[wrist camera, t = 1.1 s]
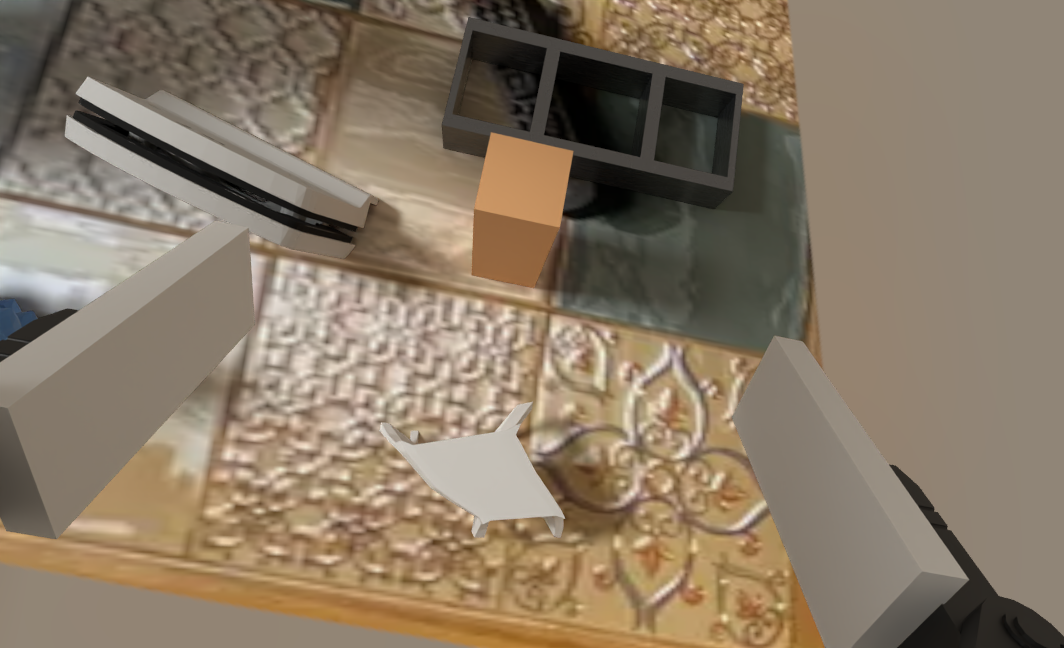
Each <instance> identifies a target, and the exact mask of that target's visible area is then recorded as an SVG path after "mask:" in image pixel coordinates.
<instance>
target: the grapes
mask: <svg viewBox="0 0 1064 648" xmlns="http://www.w3.org/2000/svg"><path fill="white" fill-rule="evenodd" d="M36 319H38V318H37V317H36V315H35V313H34V312H33V311H27V312H22V311H21V309H20V307H19V305H18V304H17V302H16V301H15V299H5V300H0V341H1V340H7V338H8V336H9V335H11V334H12V333H14V332H15V331H17V330H19V329H20V328H22V327H24V326H25V325H27V324H28V323H30V322H32V321H33V320H36Z"/></svg>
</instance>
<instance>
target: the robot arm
mask: <svg viewBox="0 0 1064 648" xmlns="http://www.w3.org/2000/svg"><path fill="white" fill-rule="evenodd" d="M254 325H255V320H254V304H253V288H252V273H251V257H250V242H249V227H244V226H240V225H235V224H230V223H225V222H220V221H214V222H213V223H211V224H210V225H208V226H207V227H205V228H204V229H202V230H201V231H199V232H198V233H196V234H195V235H193V236H191V237H190V238H188V239H187V240H185V241H184V242H182V243H181V244H179V245H178V246H176V247H175V248H173V249H172V250H170V251H169V252H167V253H166V254H164V255H163V256H161V257H160V258H158V259H157V260H155V261H153V262H152V263H150V264H149V265H147V266H146V267H144V268H143V269H141V270H140V271H138V272H137V273H135V274H134V275H132V276H131V277H129V278H128V279H126V280H125V281H123V282H122V283H120V284H119V285H117V286H116V287H114V288H112V289H111V290H109V291H108V292H106V293H105V294H103V295H102V296H100V297H99V298H97V299H96V300H94V301H93V302H91V303H90V304H88V305H87V306H85V307H84V308H82V309H81V310H79V311H78V310H73V309H65V310H62V311H59V312H56V313H53V314H50V315H47V316H44V317H41V318H39V319H36V320H33V321H32V322H30V323H28V324H27V325H25V326H24V327H22V328H20V329H19V330H17V331H15V332H14V333H12V334H11V335H9V336H8V338H7V340H1V341H0V518H1V520H2V522H3V524H4V527H5V529H6V531H10V532H16V533H22V534H28V535H34V536H40V537H46V538H52V539H57V538H58V537H59V536H60V535H61V534H62V533H63V532H64V531H65V530H66V529H67V528H68V526H69V525H70V524H71V523H72V522H73V521H74V520H75V519H76V518H77V517H78V516H79V515H80V513H81V512H82V511H83V510H84V509H85V508H86V507H87V506H88V505H89V504H90V503H91V502H92V500H93V499H94V498H95V497H96V496H97V495H98V494H99V493H100V492H101V491H102V490H103V489H104V487H105V486H106V485H107V484H108V483H109V482H110V481H111V480H112V479H113V478H114V477H115V476H116V474H117V473H118V472H119V471H120V470H121V469H122V468H123V467H124V466H125V465H126V464H127V463H128V461H129V460H130V459H131V458H132V457H133V456H134V455H135V454H136V453H137V452H138V451H139V449H140V448H141V447H142V446H143V445H144V444H145V443H146V442H147V441H148V440H149V439H150V438H151V436H152V435H153V434H154V433H155V432H156V431H157V430H158V429H159V428H160V427H161V426H162V425H163V423H164V422H165V421H166V420H167V419H168V418H169V417H170V416H171V415H172V414H173V413H174V412H175V410H176V409H177V408H178V407H179V406H180V405H181V404H182V403H183V402H184V401H185V400H186V399H187V397H188V396H189V395H190V394H191V393H192V392H193V391H194V390H195V389H196V388H197V387H198V386H199V384H200V383H201V382H202V381H203V380H204V379H205V378H206V377H207V376H208V375H209V374H210V373H211V371H212V370H213V369H214V368H215V367H216V366H217V365H218V364H219V363H220V362H221V361H222V360H223V358H224V357H225V356H226V355H227V354H228V353H229V352H230V351H231V350H232V349H233V348H234V347H235V345H236V344H237V343H238V342H239V341H240V340H241V339H242V338H243V337H244V336H245V335H246V334H247V332H248V331H249V330H250V329H251V328H252V327H253V326H254ZM732 419H733V421H734V424H735V426H736V429H737V431H738V434H739V436H740V439H741V441H742V444H743V446H744V448H745V451H746V453H747V456H748V458H749V461H750V463H751V466H752V468H753V471H754V473H755V476H756V478H757V480H758V483H759V485H760V488H761V490H762V493H763V495H764V498H765V500H766V503H767V505H768V508H769V510H770V512H771V515H772V517H773V520H774V522H775V525H776V527H777V530H778V532H779V535H780V537H781V540H782V542H783V545H784V547H785V549H786V552H787V554H788V557H789V559H790V562H791V564H792V567H793V569H794V572H795V574H796V577H797V579H798V581H799V584H800V586H801V589H802V591H803V594H804V596H805V599H806V601H807V604H808V606H809V609H810V611H811V613H812V616H813V618H814V621H815V623H816V626H817V628H818V631H819V633H820V636H821V638H822V641H823V643H824V646H825V648H1064V636H1063V635H1062V634H1061V633H1060V632H1058V630H1057V629H1056V628H1055V627H1054V626H1053V625H1052V624H1051V623H1049V622H1048V621H1046V620H1045V619H1044V618H1043V617H1041V616H1040V615H1039V614H1037V613H1036V612H1035V611H1033V610H1032V609H1030V608H1028V607H1026V606H1024V605H1022V604H1020V603H1018V602H1016V601H1014V600H1011V599H1008V598H1004V597H1000V596H998V594H997V593H996V592H995V591H994V589H993V588H992V586H991V585H990V583H989V582H988V581H987V580H986V578H985V577H984V575H983V574H982V573H981V571H980V570H979V568H978V567H977V566H976V565H975V563H974V562H973V560H972V559H971V557H970V556H969V555H968V554H967V552H966V551H965V549H964V548H963V546H962V545H961V544H960V542H959V541H958V540H957V538H956V537H955V535H954V534H953V533H952V531H950V530H947V524H946V523H945V522H944V520H943V519H942V518H941V516H940V515H939V513H938V512H934V507H933V505H932V504H931V503H930V501H929V500H928V498H927V497H926V496H925V495H924V493H923V492H922V490H921V489H920V488H919V486H918V485H917V484H916V483H914V482H913V481H912V480H911V479H910V478H909V477H908V476H907V475H906V474H904V473H903V472H902V471H901V470H900V469H899V468H898V467H896V466H894V465H889V464H888V463H887V461H886V460H885V459H884V457H883V456H882V454H881V453H880V451H879V450H878V448H877V447H876V446H875V444H874V443H873V441H872V440H871V438H870V437H869V436H868V434H867V433H866V431H865V430H864V428H863V427H862V426H861V424H860V423H859V421H858V420H857V418H856V417H855V416H854V414H853V413H852V411H851V410H850V408H849V407H848V405H847V404H846V403H845V401H844V400H843V398H842V397H841V395H840V394H839V393H838V391H837V390H836V389H835V387H834V385H833V384H832V383H831V381H830V380H829V378H828V377H827V376H826V374H825V373H824V371H823V370H822V368H821V367H820V365H819V364H818V363H817V361H816V360H815V358H814V357H813V355H812V354H811V353H810V351H809V350H808V348H807V347H806V345H805V344H804V343H803V341H798V340H793V339H788V338H783V337H779V336H774V337H773V339H772V341H771V343H770V345H769V347H768V348H767V350H766V352H765V354H764V356H763V358H762V360H761V362H760V364H759V366H758V368H757V370H756V372H755V374H754V375H753V377H752V379H751V381H750V383H749V385H748V387H747V389H746V391H745V393H744V395H743V397H742V399H741V400H740V402H739V404H738V406H737V408H736V410H735V412H734V414H733V416H732Z"/></svg>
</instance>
